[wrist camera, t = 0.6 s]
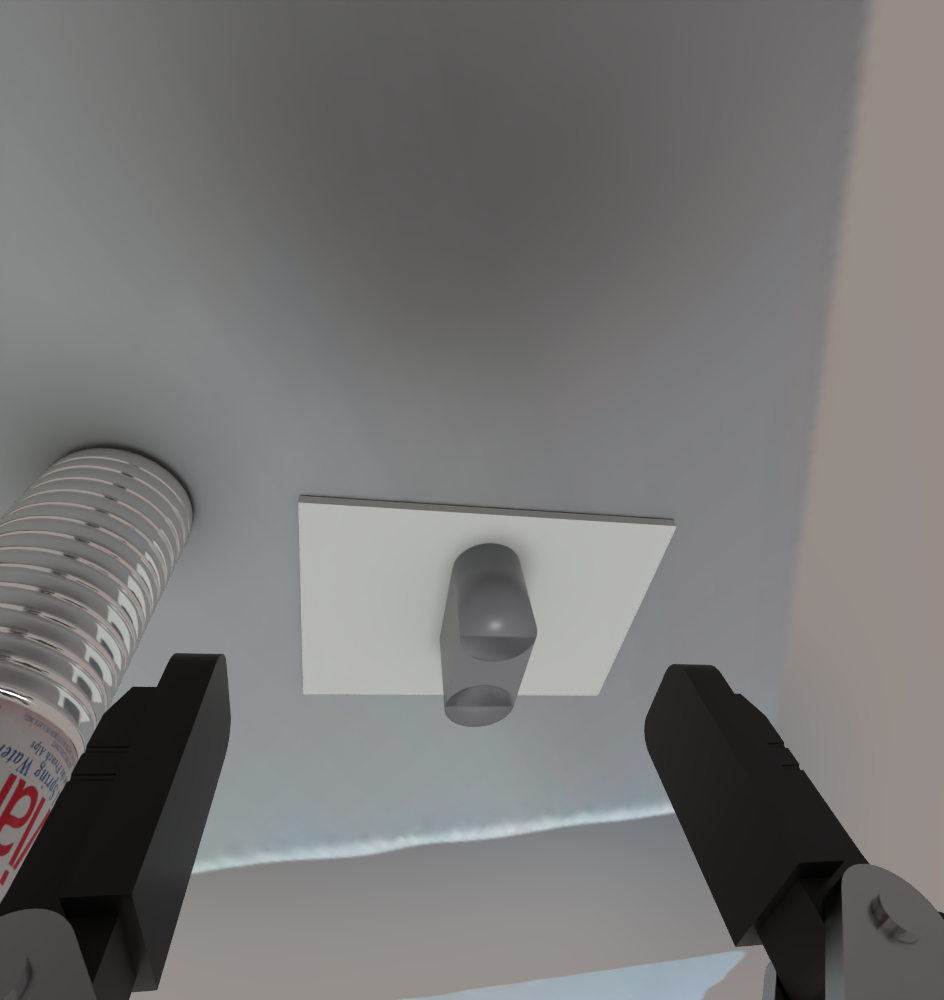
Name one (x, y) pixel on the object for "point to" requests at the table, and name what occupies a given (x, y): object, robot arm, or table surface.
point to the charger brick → (485, 635)
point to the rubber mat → (425, 583)
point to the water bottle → (74, 617)
